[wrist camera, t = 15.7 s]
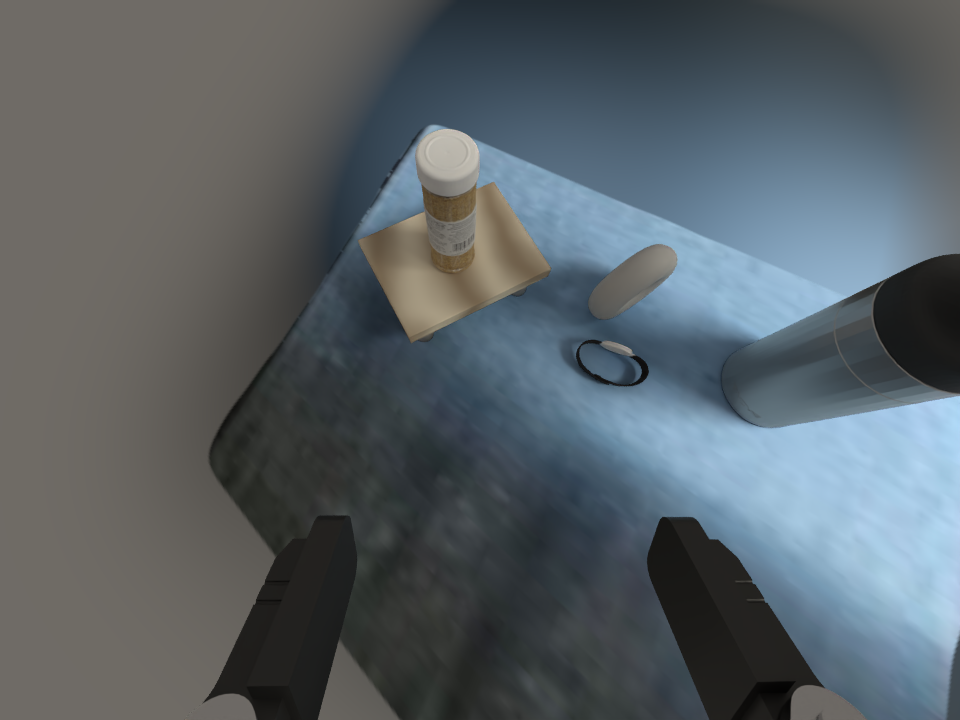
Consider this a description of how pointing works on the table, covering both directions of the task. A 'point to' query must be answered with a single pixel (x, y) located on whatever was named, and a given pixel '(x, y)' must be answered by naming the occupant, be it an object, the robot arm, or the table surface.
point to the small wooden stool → (451, 296)
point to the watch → (620, 350)
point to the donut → (632, 281)
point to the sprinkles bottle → (449, 196)
